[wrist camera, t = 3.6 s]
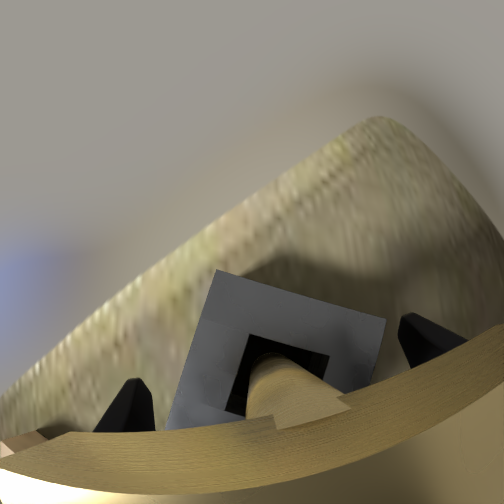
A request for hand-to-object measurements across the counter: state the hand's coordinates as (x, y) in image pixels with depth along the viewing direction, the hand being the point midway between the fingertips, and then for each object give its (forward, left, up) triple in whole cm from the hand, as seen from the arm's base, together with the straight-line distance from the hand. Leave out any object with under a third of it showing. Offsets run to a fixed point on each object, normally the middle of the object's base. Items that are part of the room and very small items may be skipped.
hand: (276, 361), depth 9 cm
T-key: (-1, +1, -8) cm, 8 cm away
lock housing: (-1, +1, -8) cm, 8 cm away
